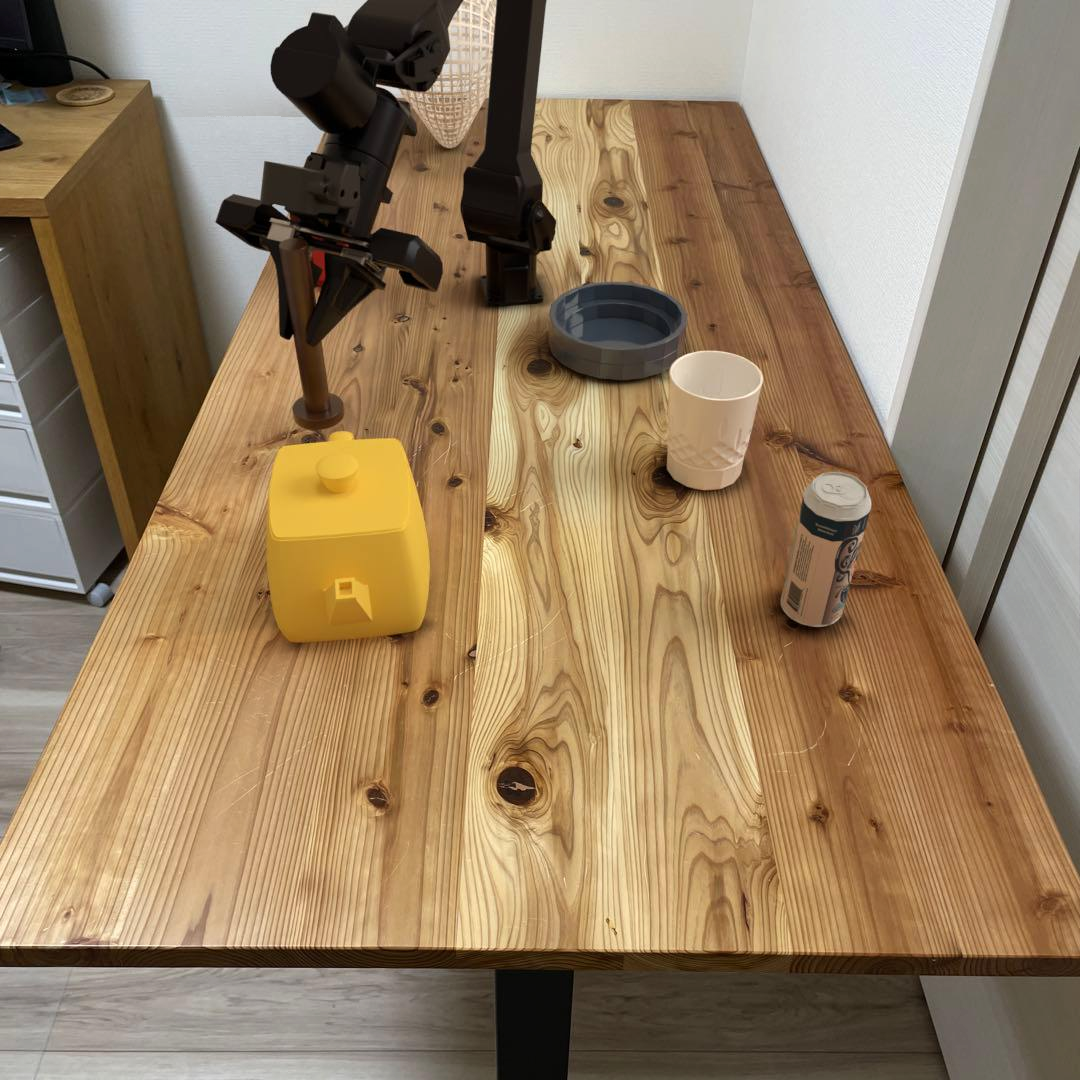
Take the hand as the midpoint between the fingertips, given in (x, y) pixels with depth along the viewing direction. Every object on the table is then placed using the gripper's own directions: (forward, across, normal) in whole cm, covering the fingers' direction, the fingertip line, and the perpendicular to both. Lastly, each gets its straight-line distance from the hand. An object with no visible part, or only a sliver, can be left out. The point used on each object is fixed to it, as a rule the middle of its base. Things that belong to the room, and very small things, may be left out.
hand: (297, 341), depth 87 cm
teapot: (+18, +11, +2) cm, 21 cm away
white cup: (-2, +31, +21) cm, 37 cm away
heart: (-42, -28, +62) cm, 80 cm away
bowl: (-13, +16, +32) cm, 38 cm away
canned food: (-14, -21, +33) cm, 42 cm away
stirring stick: (+5, 0, +7) cm, 8 cm away
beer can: (+8, +44, +11) cm, 46 cm away
